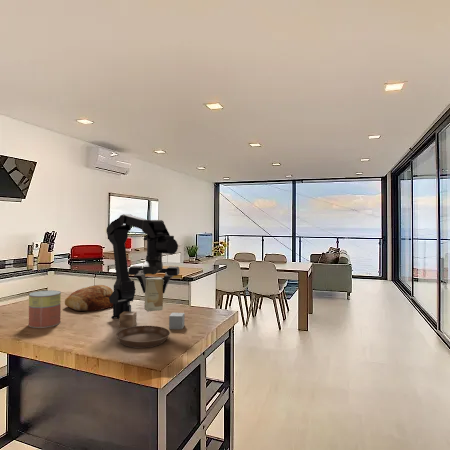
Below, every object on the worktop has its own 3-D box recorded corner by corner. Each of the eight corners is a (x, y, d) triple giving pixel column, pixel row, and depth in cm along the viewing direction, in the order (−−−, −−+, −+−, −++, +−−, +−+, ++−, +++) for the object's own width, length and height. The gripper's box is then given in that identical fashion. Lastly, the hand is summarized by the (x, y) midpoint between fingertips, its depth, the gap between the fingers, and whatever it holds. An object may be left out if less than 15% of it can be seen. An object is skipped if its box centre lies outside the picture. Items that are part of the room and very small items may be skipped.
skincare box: (147, 312, 136) (147, 279, 136) (144, 309, 140) (144, 277, 140) (163, 310, 139) (164, 278, 139) (160, 307, 143) (160, 276, 143)
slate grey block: (169, 329, 137) (169, 315, 137) (171, 325, 142) (171, 312, 142) (182, 329, 136) (182, 316, 136) (184, 325, 141) (184, 312, 141)
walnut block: (119, 327, 138) (119, 314, 138) (123, 324, 143) (123, 311, 143) (132, 328, 137) (132, 315, 137) (136, 324, 142) (136, 311, 142)
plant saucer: (173, 333, 132) (173, 325, 132) (164, 351, 114) (164, 341, 114) (125, 333, 132) (125, 324, 132) (108, 350, 114) (108, 340, 114)
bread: (118, 306, 172) (118, 285, 172) (84, 314, 157) (84, 291, 157) (91, 300, 183) (91, 281, 183) (57, 307, 168) (57, 286, 168)
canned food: (54, 318, 150) (54, 289, 149) (65, 324, 142) (65, 293, 141) (24, 323, 142) (24, 292, 142) (33, 329, 134) (34, 297, 134)
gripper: (123, 253, 132) (123, 296, 132) (174, 254, 131) (174, 298, 131) (132, 251, 143) (132, 290, 143) (179, 252, 142) (179, 292, 142)
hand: (154, 293), depth 139 cm, fingers closed on skincare box, 7 cm apart
